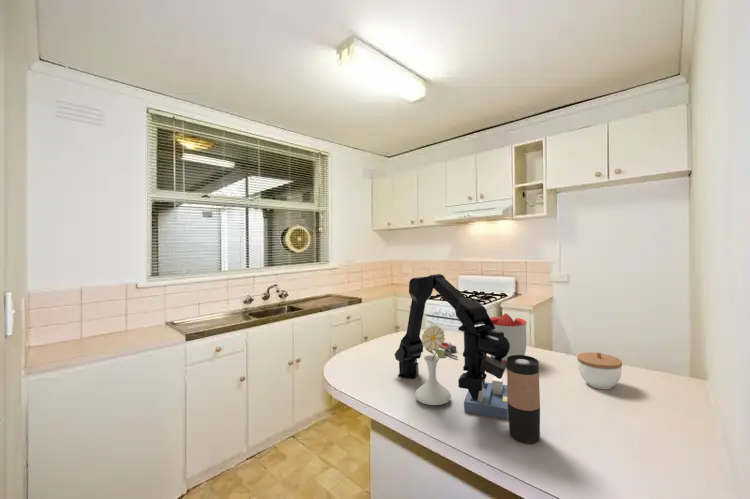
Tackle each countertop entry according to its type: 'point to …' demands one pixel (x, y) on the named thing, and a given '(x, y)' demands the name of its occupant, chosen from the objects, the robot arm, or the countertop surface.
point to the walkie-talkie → (448, 348)
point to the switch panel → (489, 403)
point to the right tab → (497, 386)
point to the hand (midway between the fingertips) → (475, 400)
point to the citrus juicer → (512, 334)
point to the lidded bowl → (599, 369)
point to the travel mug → (523, 398)
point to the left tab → (480, 396)
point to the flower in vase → (433, 369)
